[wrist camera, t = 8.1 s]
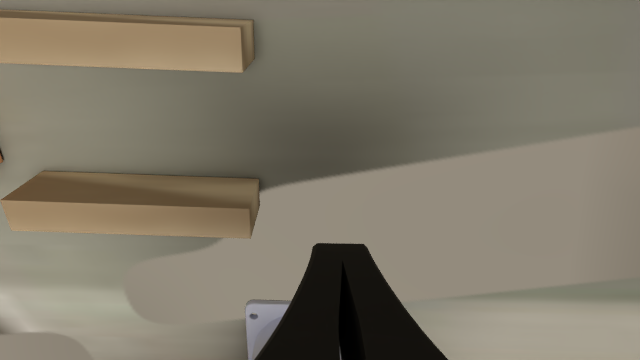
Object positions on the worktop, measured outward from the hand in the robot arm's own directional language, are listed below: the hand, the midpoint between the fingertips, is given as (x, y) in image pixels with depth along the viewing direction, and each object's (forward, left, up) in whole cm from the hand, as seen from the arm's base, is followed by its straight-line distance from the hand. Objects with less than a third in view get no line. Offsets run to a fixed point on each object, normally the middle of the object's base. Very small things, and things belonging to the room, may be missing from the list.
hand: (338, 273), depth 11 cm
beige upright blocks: (+1, +9, -10) cm, 13 cm away
